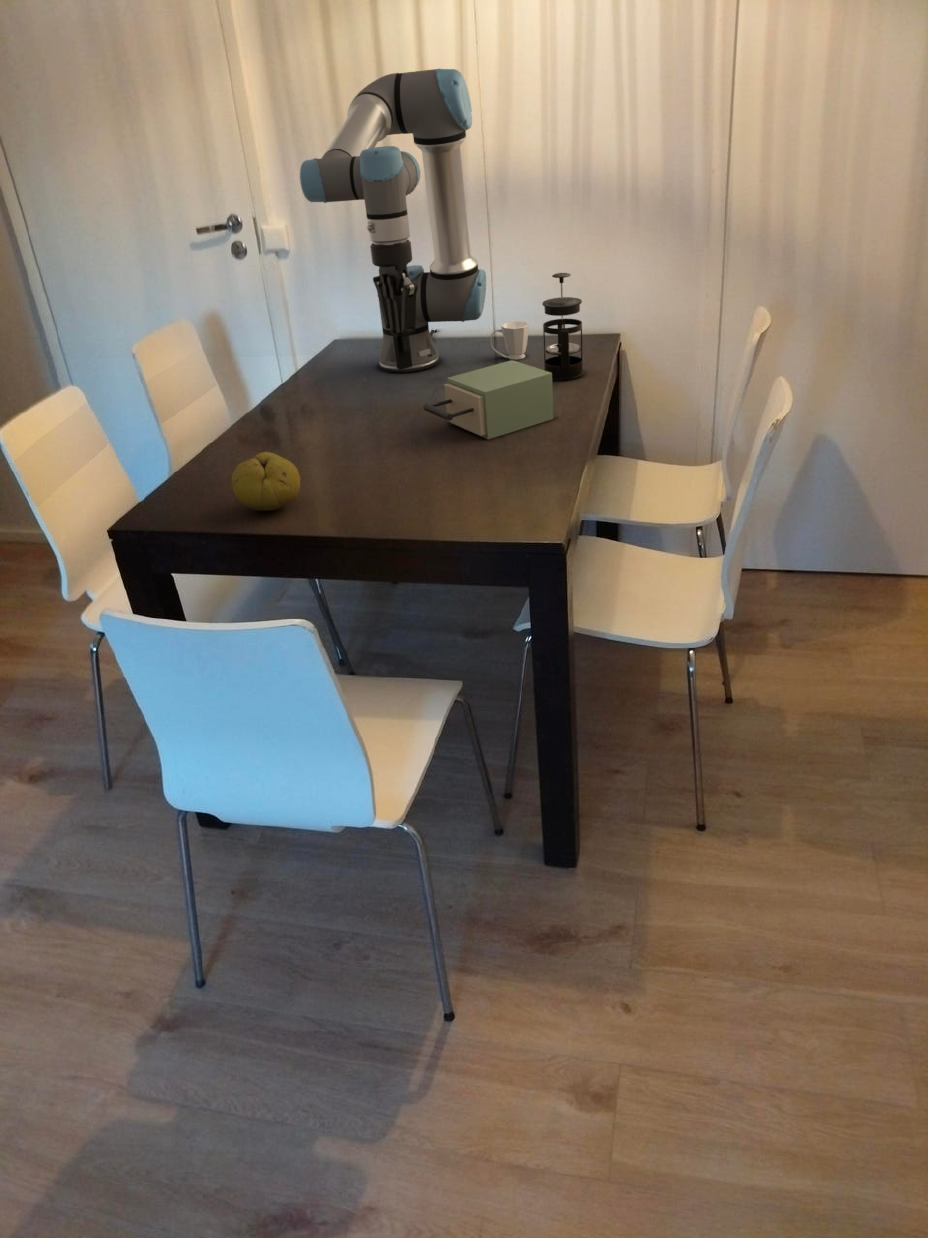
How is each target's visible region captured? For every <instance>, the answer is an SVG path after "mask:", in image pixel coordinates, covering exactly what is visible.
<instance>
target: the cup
mask: <svg viewBox="0 0 928 1238" xmlns="http://www.w3.org/2000/svg"><path fill="white" fill-rule="evenodd" d="M500 327H501V328H499V329H495V330H494V331H493V332H492V333H491V335H490V340H489V341H490V342H489V345H490V348H491V349H492V350H493V352H495V353H496V354H497V355H499V356H500V357H502V358H505V359H509V360H513V361H516V360H523V359H525V358H526V355H525V353H526V351H527V347H528V339H529V338H528V337H529V330H530V324H529V323H528V322H526V321H509V322H505V323H504V324H501V325H500ZM495 333H501V334H502V338H503V342H504V347H505V350H506V353H507V354H508V355H505V354H503V353H501V352H500V351H498V350H497V349H496V348H495V347H494V346H493V336H494V335H495Z"/></svg>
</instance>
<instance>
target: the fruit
mask: <svg viewBox="0 0 928 1238" xmlns="http://www.w3.org/2000/svg"><path fill="white" fill-rule="evenodd" d="M231 487H232V491H233V495H234V497H235V498H236V499H237V501H239V503H241V504H242V505H243V506H244V507H247V508H249V509H251V510H254V511H261V512H263V511H265V512H267V511H269V512H273V511H277V510H280V509H281V508H283V507H285V506H286V505H287V504H289V503H290V502H292V501H293V500H294V499H295V498H296V497H297V496H298V494H299V491H300V488H301V475H300V473H299V469H298V468H297V467H296V465H295V464H294V463H293V462H292V461H290V460H289V459H286V458H285V457H282V456H280V455H278V454H277V453H273V452H270V451H263V452H259V453H257V454H256V455H255V456H254V457H252V458H249V459H246V460H245V461H243V462H240V463H239V464H238V465H237V466H236V467H235V468H234V470H233V472H232V474H231Z"/></svg>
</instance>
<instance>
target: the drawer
mask: <svg viewBox="0 0 928 1238" xmlns="http://www.w3.org/2000/svg"><path fill="white" fill-rule="evenodd" d="M443 386H444V397H445V399H444V400H442V401H439V402H435V403H431V404H429V403H425V404H423V408H422V409H423V410H424V411H425V412H428V413H430V414H432V415H435V416H437V417H439V418H442V419H444V420H446V421H447V422H449V423H450V424H452V423H453V424H452V425H454V424H456V425H458V426H457V427H459V426H460V427H459V428H461V427H462V428H461V429H463V428H465V429H467V430H466V431H468V430H469V431H468V432H470V431H471V432H470V433H472V432H474V433H476V434H475V435H477V434H478V435H477V436H479V435H480V436H479V437H481V436H482V435H485V434H486V429H485V415H484V400H483V396H481V395H478V394H476V393H473V392H471V391H470V390H467V389H464V388H462V387H459V386H455V385H453V384H450V383H444V384H443ZM444 405H445V410H443V409H441V408H439V407H441V406H444ZM456 425H455V426H456ZM465 429H464V430H465ZM474 433H473V434H474Z"/></svg>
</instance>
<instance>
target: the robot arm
mask: <svg viewBox="0 0 928 1238" xmlns="http://www.w3.org/2000/svg"><path fill="white" fill-rule="evenodd" d="M472 112H473V110H472V103H471V97H470V91H469V88H468V85H467V82H466V79H465V78H464V76H463V74H462V73H461V71H459V70H457V69H455V68H433V69H423V70H416V71H407V72H394V73H388V74H386V75H384V76H383V75H382V76H381V77H379V78H377V79H375V80H374V81H372V82H371V83H368V84H367V85H366V86H365V87H364V88H362V90H360V91H359V92H358V93H357V94H356V95H355V96H354V98H353V99H352V100H351V101H350V104H349V106H348V108H347V112H346V113H347V115H346V116H347V118H346V119H345V121H344V122H343V124H342V126H341V127H340V129H339V130H338V132H337V133H336V135H335V137H334V138H333V139H332V141H331V142H330V145H329V146H328V147H327V149H326V150H325V152H324V153H323V155H322V157H320V158H317V157H314V158H311V159H306V160H303V162H302V163H301V165H300V170H299V184H300V187H301V188H300V189H301V192H302V194H303V196H304V197H305V199H306V200H307V201H308V202H310V203H324V204H326V203H335V202H336V203H337V202H347V201H348V202H349V201H364V206H365V214H366V221H367V226H366V230H367V232H368V237H369V241H370V242H372V243H370V246H369V247H370V255H371V262H372V264H373V266H375V267H378V275H377V276H373V277H372V281H373V284H374V287H375V289H376V293H377V298H378V305H379V306H378V307H379V314H380V322H381V329H382V342H381V347H380V350H379V351H380V352H379V357H378V358H379V359H378V364H379V368H380V369H381V370H383V371H385V372H389V373H413V372H420V371H424V370H428V369H430V368H433V367H435V366H437V365H438V364H439V362H440V356H439V352H438V349H437V347H436V345H435V343H434V339H433V335H434V333H437V332H438V330H437V329H436V330H435V331H434V330H432V329H431V331H430V328H429V327H430V326H429V323H441V322H442V323H443V322H445V323H446V322H461V323H464V322H467V321H469V322H470V321H476V320H479V319H480V318H481V316H482V315H483V312H484V309H485V303H486V294H487V293H486V292H487V275H486V270H485V269H482V268H479V264H478V260H477V259H476V258H475V257H474V256H472V255H471V247H470V246H471V245H470V235H469V225H468V213H467V205H466V203H467V202H466V193H465V183H464V182H465V181H464V173H463V162H462V151H461V146H462V145H463V143H464V141H465V140H466V138H467V133H466V131H468V130H470V129H471V128H472V126H473V113H472ZM408 134H412V137H413V144H414V145H415V146H416V147H417V148H418V149H419V150H420V151H421V154H422V163H423V172H424V180H425V189H426V197H427V198H426V199H427V205H428V212H429V213H428V215H429V221H430V230H431V231H430V232H431V239H432V247H433V256H434V259H433V261H431V263H430V265H429V271H427V272H426V271H425V269H424V267H423V266H422V265H420V264H418V265H417V264H416V265H415V264H414V265H409V264H410V263H411V262H412V260H413V252H412V251H413V250H412V241H410V240H409V238H410V237H411V230H410V223H409V222H410V221H409V214H408V206H407V205H408V203H407V196H408V195H411V194H412V193H413V192H414V191H415V189H416V188H417V186H418V185H419V182H420V180H421V168H420V164H419V162H418V160H417V159H416V158H415V156H413V155H412V154H411V153H410V152H407V151H405V150H403V151H402V150H401V149H400V148H399V147H398V146H394V145H393V146H391V145H384V146H377V144H378V142H379V143H380V142H381V141H383V140H384V139H385V138H387V136H391V135H408Z"/></svg>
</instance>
